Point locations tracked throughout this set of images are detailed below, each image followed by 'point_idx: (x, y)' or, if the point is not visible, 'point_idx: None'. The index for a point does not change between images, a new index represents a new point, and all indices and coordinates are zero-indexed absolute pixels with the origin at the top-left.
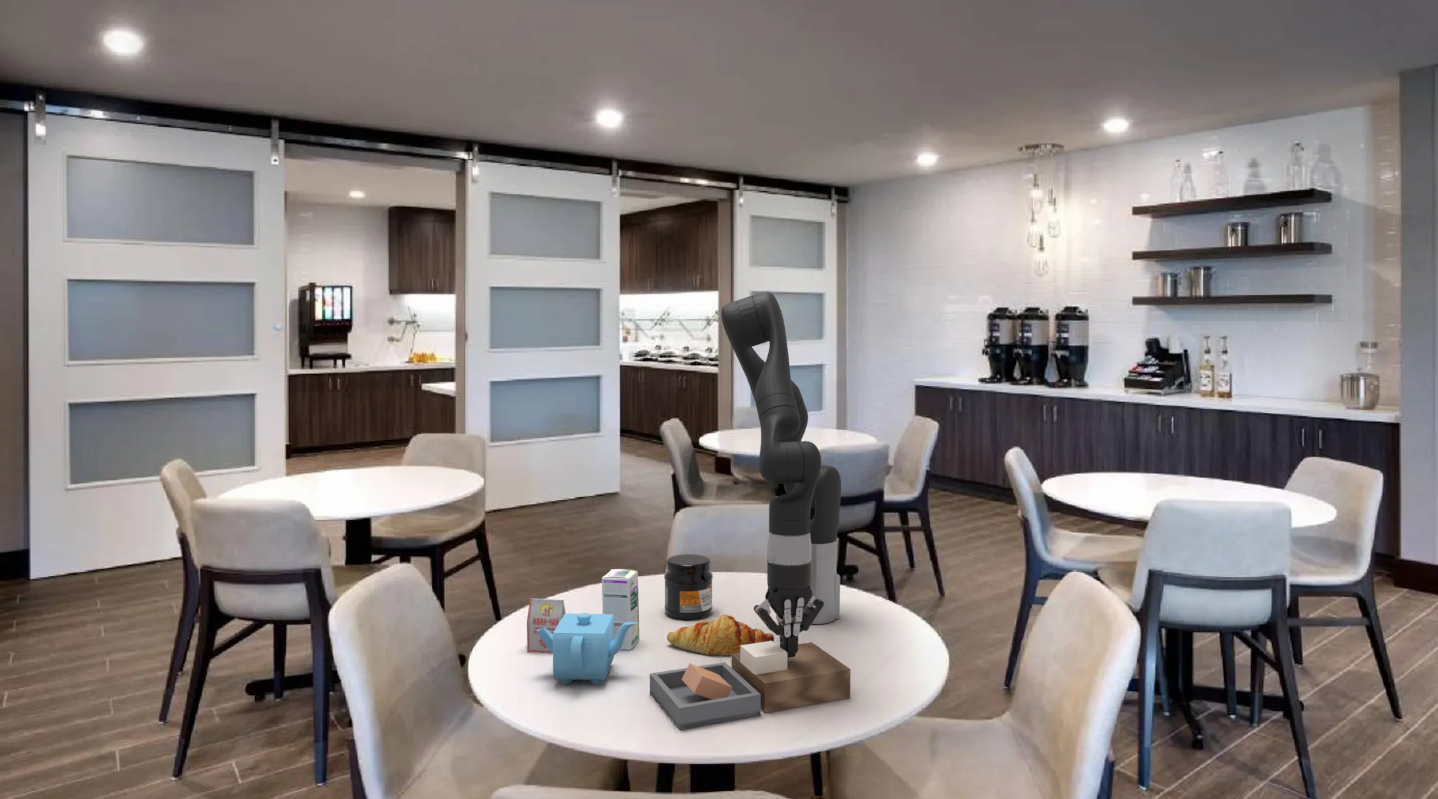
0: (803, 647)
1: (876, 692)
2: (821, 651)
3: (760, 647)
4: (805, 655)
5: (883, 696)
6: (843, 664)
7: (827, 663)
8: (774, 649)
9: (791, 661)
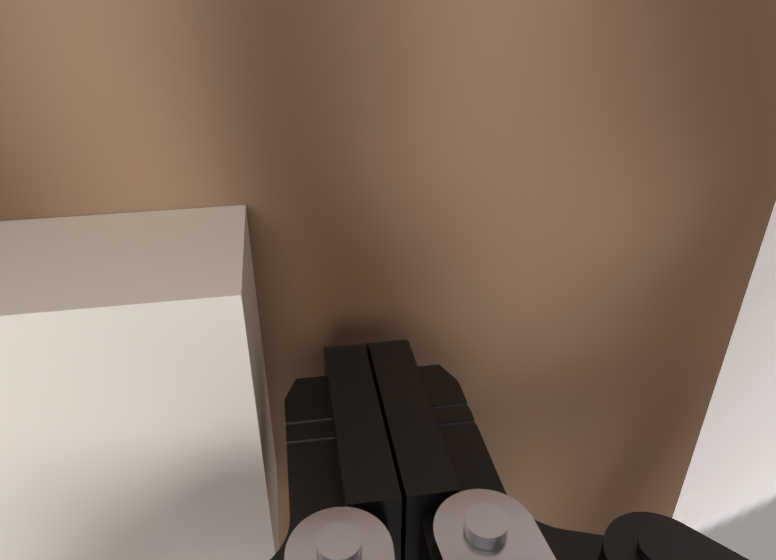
0: (684, 55)
1: (734, 382)
2: (744, 213)
3: (20, 451)
4: (569, 253)
5: (725, 423)
6: (686, 466)
7: (611, 430)
8: (177, 520)
9: (386, 337)
